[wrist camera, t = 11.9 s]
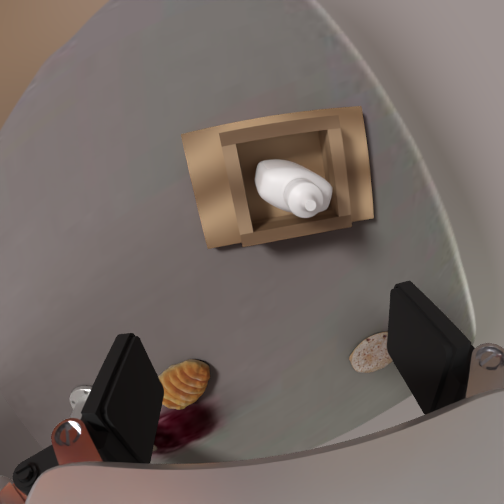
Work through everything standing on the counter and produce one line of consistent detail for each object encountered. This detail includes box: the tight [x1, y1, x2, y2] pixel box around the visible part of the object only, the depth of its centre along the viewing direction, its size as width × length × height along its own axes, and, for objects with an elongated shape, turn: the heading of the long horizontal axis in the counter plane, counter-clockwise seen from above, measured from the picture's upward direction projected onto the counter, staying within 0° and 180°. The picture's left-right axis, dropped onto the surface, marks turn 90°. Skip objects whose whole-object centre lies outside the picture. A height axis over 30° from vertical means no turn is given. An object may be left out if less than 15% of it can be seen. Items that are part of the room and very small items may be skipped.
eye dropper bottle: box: [254, 159, 332, 218], centre depth 24 cm, size 4×6×12 cm
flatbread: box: [349, 332, 393, 373], centre depth 40 cm, size 8×8×1 cm
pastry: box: [158, 359, 210, 410], centre depth 39 cm, size 9×7×4 cm
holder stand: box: [181, 106, 374, 249], centre depth 28 cm, size 12×18×5 cm, turn 101°
